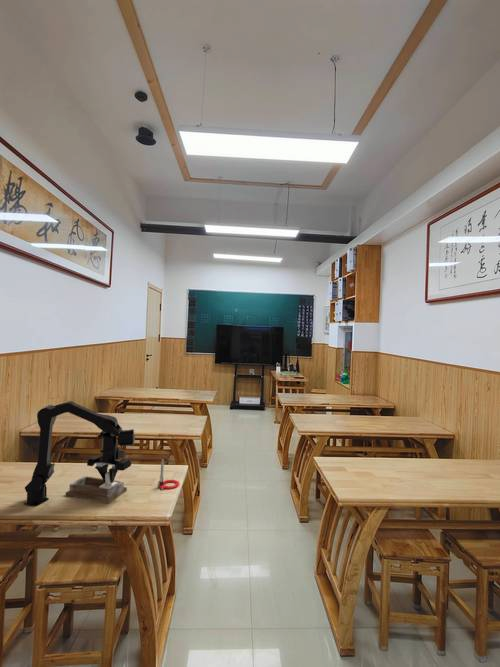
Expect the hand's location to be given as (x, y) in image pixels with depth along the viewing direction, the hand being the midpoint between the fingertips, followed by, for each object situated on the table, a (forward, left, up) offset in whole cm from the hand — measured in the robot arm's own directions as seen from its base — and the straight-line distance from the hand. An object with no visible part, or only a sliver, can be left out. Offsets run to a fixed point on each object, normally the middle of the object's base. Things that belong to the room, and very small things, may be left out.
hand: (108, 482), depth 143 cm
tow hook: (+16, -20, -6) cm, 27 cm away
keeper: (0, 0, -4) cm, 4 cm away
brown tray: (0, +6, -6) cm, 8 cm away
